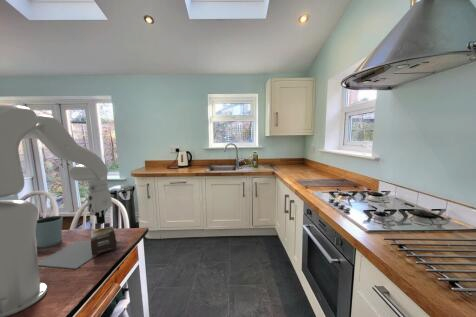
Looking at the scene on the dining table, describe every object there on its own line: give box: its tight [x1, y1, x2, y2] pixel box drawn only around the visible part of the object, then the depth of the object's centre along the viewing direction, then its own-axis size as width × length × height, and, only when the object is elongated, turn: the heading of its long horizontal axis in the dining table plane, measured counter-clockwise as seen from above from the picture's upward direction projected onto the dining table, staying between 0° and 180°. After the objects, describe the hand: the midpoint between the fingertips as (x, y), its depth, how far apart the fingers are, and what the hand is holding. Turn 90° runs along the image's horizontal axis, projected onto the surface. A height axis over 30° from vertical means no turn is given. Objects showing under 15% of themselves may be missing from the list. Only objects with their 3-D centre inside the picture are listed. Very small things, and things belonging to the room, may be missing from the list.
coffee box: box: [90, 225, 117, 255], centre depth 89 cm, size 9×6×16 cm
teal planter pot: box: [36, 215, 64, 248], centre depth 94 cm, size 10×10×12 cm
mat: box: [38, 240, 101, 270], centre depth 84 cm, size 19×20×1 cm
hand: (100, 223), depth 96 cm, fingers closed
